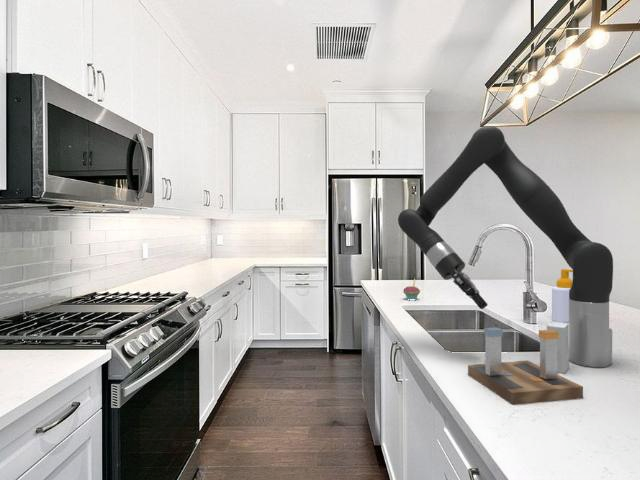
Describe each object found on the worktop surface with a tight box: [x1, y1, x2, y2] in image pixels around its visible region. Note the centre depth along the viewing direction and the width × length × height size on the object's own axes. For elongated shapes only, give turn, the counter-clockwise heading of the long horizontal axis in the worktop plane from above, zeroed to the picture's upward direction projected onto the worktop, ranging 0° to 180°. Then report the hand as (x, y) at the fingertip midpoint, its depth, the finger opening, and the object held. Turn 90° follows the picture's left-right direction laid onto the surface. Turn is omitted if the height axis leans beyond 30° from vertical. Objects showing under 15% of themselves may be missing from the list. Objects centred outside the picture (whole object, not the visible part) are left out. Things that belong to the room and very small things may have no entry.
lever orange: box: [538, 329, 559, 379], centre depth 93 cm, size 3×2×11 cm, turn 99°
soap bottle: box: [551, 268, 573, 324], centre depth 162 cm, size 13×8×20 cm, turn 129°
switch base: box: [467, 360, 584, 405], centre depth 96 cm, size 17×18×3 cm
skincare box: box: [546, 320, 570, 374], centre depth 107 cm, size 6×4×12 cm
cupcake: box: [402, 278, 421, 300], centre depth 213 cm, size 9×8×12 cm
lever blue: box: [483, 327, 504, 376], centre depth 96 cm, size 3×2×11 cm, turn 99°
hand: (484, 307), depth 112 cm, fingers closed
